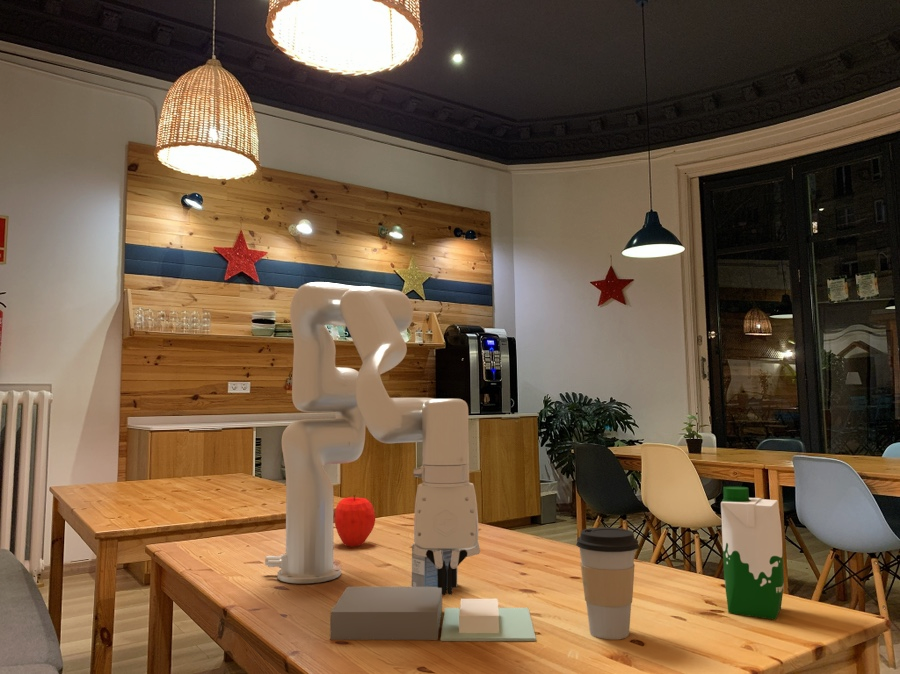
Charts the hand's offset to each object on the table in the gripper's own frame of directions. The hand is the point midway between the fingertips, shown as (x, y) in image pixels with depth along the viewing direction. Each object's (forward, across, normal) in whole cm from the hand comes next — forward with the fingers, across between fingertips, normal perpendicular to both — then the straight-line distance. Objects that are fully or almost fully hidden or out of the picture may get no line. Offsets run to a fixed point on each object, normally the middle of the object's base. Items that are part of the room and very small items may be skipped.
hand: (447, 592), depth 110 cm
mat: (+5, +6, 0) cm, 8 cm away
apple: (+5, -25, +60) cm, 65 cm away
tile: (+2, +5, -1) cm, 5 cm away
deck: (+5, -9, 0) cm, 10 cm away
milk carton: (+5, +51, +7) cm, 51 cm away
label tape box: (+5, -3, +22) cm, 23 cm away
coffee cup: (+5, +25, -4) cm, 26 cm away
